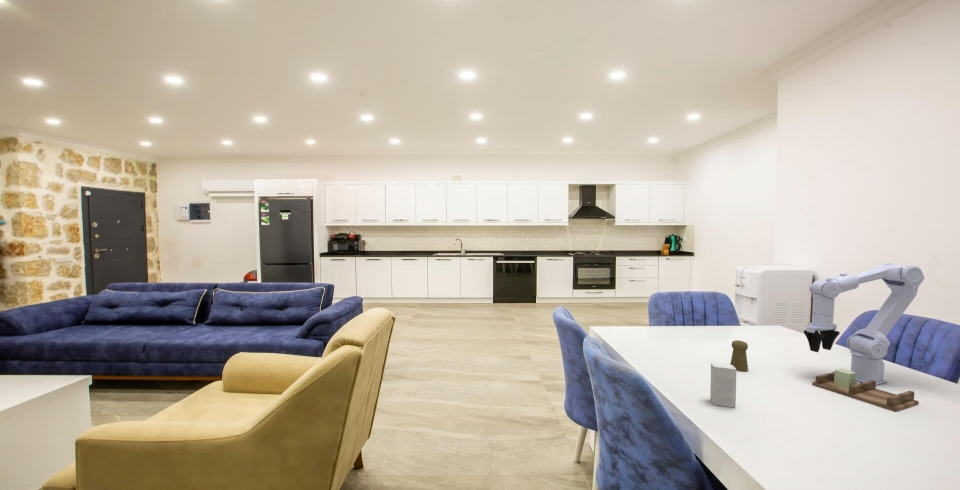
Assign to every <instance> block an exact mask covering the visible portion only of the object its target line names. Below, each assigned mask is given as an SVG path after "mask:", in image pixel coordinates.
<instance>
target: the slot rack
mask: <svg viewBox="0 0 960 490" xmlns="http://www.w3.org/2000/svg"><path fill="white" fill-rule="evenodd" d="M834 374H835V371H833V372H828V373H824V374H819V375H816V376H815V381H812V383H811V385H812V386H815V387H817V388H820V389H824V390H827V391H830V392H833V393H836V394H840V395H842V396H845V397H849V398H852V399H855V400H858V401H861V402H863V403H867V404H870V405H874V406H877V407H880V408H883V409H886V410H888V409H889V411H891V410H892V411H891V412H894V413H897V412H899V411H903V410H905V409H909V408H911V407H914V406H918V405H919V404H920V403H919V400H916V399H915V391H912V390H908V391H904V392H901V393H897V394H895V393H892V392H889V391H885V390H882V389H878V388H877V385H876V381H873V380H871V381H867V382H863V383H862V382H859V383H858V382H855V385H852V386H849V389H848V388H845V387H841V386H838V385H835V384H834Z"/></svg>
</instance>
